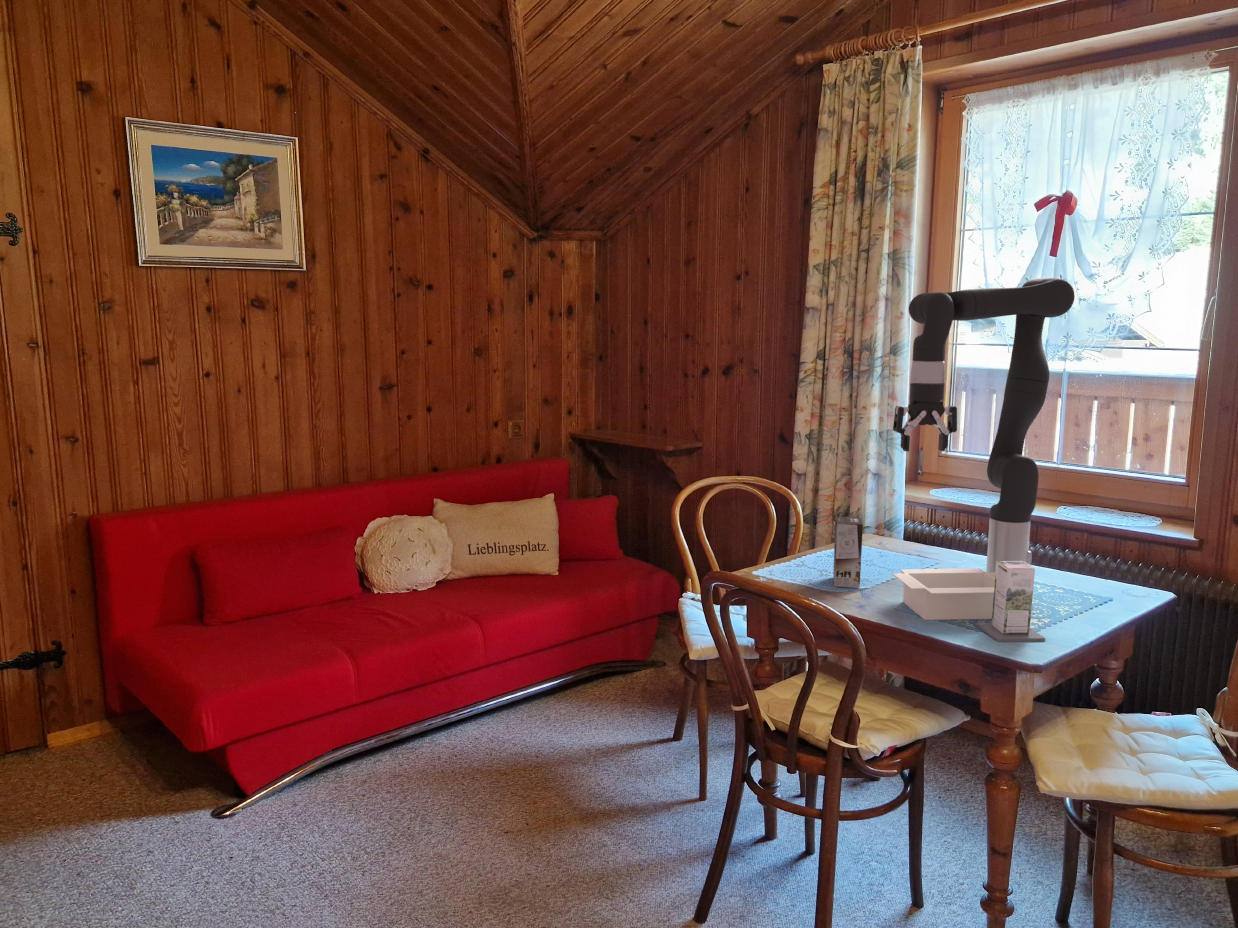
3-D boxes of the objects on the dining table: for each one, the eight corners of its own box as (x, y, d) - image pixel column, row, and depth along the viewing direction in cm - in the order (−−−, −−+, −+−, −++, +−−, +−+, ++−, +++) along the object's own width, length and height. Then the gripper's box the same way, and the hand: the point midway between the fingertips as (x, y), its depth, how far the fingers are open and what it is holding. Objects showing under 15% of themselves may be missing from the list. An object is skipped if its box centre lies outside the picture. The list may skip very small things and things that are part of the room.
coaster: (1021, 624, 197) (1021, 622, 197) (1045, 640, 188) (1045, 637, 187) (976, 625, 197) (976, 622, 197) (997, 641, 187) (997, 638, 187)
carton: (989, 596, 218) (991, 568, 217) (1029, 622, 199) (1032, 591, 198) (885, 598, 217) (887, 569, 215) (916, 624, 198) (917, 593, 196)
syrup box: (1017, 625, 195) (1021, 559, 193) (1030, 634, 189) (1035, 566, 187) (990, 625, 195) (995, 559, 193) (1003, 635, 189) (1008, 567, 187)
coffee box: (860, 588, 224) (863, 524, 222) (833, 587, 226) (836, 523, 223) (858, 578, 233) (861, 516, 231) (832, 577, 235) (835, 515, 232)
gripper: (950, 379, 214) (946, 448, 216) (891, 380, 213) (887, 449, 215) (964, 382, 207) (960, 453, 209) (903, 382, 206) (899, 453, 208)
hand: (923, 450), depth 212 cm, fingers open, 8 cm apart
